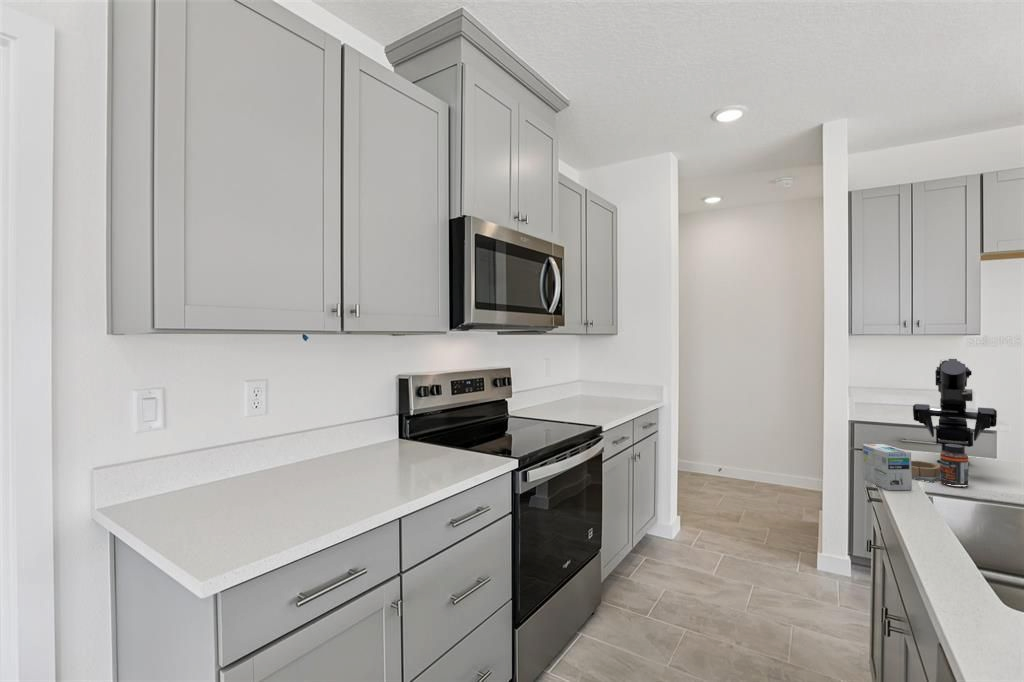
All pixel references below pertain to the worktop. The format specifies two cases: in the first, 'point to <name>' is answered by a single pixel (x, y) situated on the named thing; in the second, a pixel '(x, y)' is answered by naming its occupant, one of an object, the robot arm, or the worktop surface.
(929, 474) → the bottle socket
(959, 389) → the robot arm
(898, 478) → the light bulb box
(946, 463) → the supplement bottle
